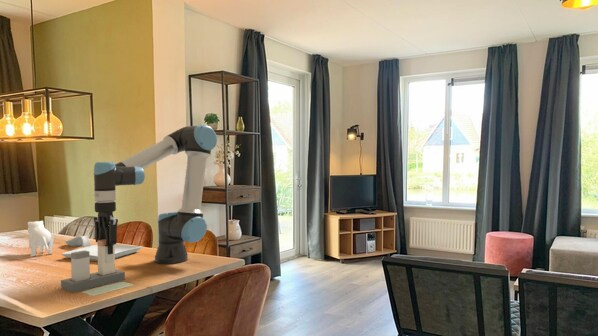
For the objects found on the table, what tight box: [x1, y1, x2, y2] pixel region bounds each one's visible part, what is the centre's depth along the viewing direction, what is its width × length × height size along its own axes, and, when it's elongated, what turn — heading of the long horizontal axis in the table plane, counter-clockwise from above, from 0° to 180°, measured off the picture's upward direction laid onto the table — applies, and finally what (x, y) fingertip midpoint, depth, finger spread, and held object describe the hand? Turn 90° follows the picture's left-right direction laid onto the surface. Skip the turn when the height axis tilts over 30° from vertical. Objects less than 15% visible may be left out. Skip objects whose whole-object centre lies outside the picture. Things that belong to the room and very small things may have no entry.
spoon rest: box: [64, 235, 92, 248], centre depth 240 cm, size 24×12×7 cm, turn 46°
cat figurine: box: [23, 220, 55, 258], centre depth 221 cm, size 25×10×17 cm, turn 47°
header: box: [60, 269, 126, 294], centre depth 162 cm, size 20×9×4 cm, turn 144°
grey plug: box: [70, 250, 91, 282], centre depth 158 cm, size 5×4×13 cm
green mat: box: [81, 281, 134, 297], centre depth 157 cm, size 16×8×1 cm, turn 144°
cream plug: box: [96, 239, 116, 275], centre depth 166 cm, size 5×4×13 cm
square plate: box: [60, 243, 143, 262], centre depth 217 cm, size 27×27×4 cm
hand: (106, 261), depth 166 cm, fingers closed on cream plug, 3 cm apart
